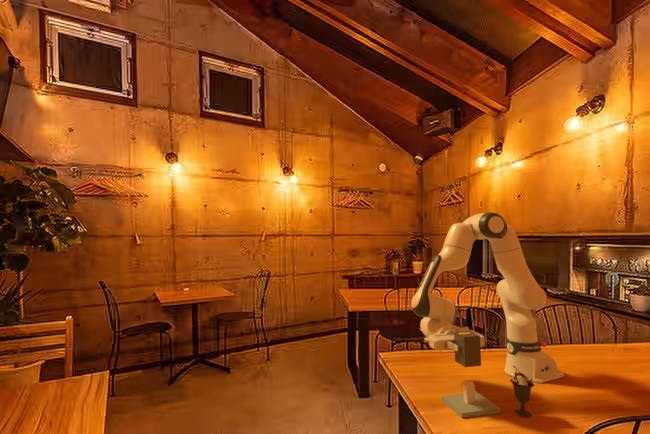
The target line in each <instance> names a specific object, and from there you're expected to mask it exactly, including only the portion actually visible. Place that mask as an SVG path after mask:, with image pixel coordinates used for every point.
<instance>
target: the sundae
mask: <svg viewBox="0 0 650 434" xmlns="http://www.w3.org/2000/svg"><path fill="white" fill-rule="evenodd" d="M513 367H514V368H515V369H517V368H516V367H515V366H513ZM517 370H518V369H517ZM517 370H516V372H515V373H514V374H515V375H514V376H512V378H511V379H510V380H509V382H511V383H512V387H513V392H514V395H515V396H514V397H515V399H516V400H517V401H518V402H519V403H520V408H518V409H515V410H514V413H515V415H517V416H519V417H522V418H526V419H527V418H531V417H532V416H533V414H532V412H530V411H528V410H526V403H529V402H530V399H531V390H532V388H534V387H535V385H534V383H533V381H531V380H532V378H531V380H528V378H527V376H526V375H524V374H522V373H521V372H518V373H517Z"/></svg>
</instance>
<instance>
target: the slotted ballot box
mask: <svg viewBox="0 0 650 434" xmlns="http://www.w3.org/2000/svg"><path fill="white" fill-rule="evenodd" d="M454 344H458V345H460V346H461V351H456V350H454V362H456V363H458V364H459V365H461V366H462V367H464V368H471V367H481V366H482V359H481V357H482V356H481V355H482V352H481V347H480V336H479V335H477V334H475V333H473V332H470V331H462V332H454Z"/></svg>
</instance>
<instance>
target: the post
mask: <svg viewBox="0 0 650 434" xmlns="http://www.w3.org/2000/svg"><path fill="white" fill-rule="evenodd" d="M462 385H463V386H462V388H463V393H454V394H447V395H444V394H443V395H441V401H443V403H445V404H446V405H447V406H448V407H449V408H450V409H451V410H452V411H453V412H454V413H455V414H457V415H458V416H459V418H461V419H463V418H471V417H472V418H473V417H479V416H486V415H487V416H488V415H493V414H500V413H501V408H500V407H498V406H497V405H496V404H494V402H492V401H491V400H489V399H488V398H486V397H485V396H483V395H482V394H481V393H480V392H478V391H476V388H475V386H476V385H475V384H474V382H473V381H472V380H464V382H463V383H462Z"/></svg>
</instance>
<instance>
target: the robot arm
mask: <svg viewBox="0 0 650 434" xmlns="http://www.w3.org/2000/svg"><path fill="white" fill-rule="evenodd" d="M444 239H445V240H444V242H443V246H442V249H441V250H440V252H439V253H438V254H437V255H434V256H433V257H432V258H431V260H430V262H429V263H428V266H427V268H426V270H425V271H424V274H423V277H422V279H421V281H420V283H419V286H418V287H417V290H416V291H415V292H414V294H413V296H412V298H411V301H410V307H411V310H412V311H413V313H414V315H416V316H418V317H422V319H421V320H420V325H419V326H420V327H419V328H420V330H421V332H422V334H423V335H424V336H425V337H424V338H423V339H424V341H425V342H426V343H428V345H429V347H430V348H432V349H433V350H435V351H442V350H452V351H453V350H454V351H455V350H456V351H461V346H460V345H458V344H454V332H462V331H470V332H473V333H475V334H477V335H479V336H480V348H482V347H485V344H486V343H485V336H484V335H483V334H481V333H479V332H478V331H475V330H472V329H469V327H468V326H463V325H455V322H456V320H457V317H458V310H457V306H456V304H455V302H454V301H453V300H452V299H449V298H446V297H443V296H439V295H435V294H434V293H433V294H432V290H433V288H434V287H435V283H436V282H437V278H438V276H439V275H440V274H442V273H443V272H448V271H455V270H460V269H462V268H464V267H465V266H466V265H467V264H468V263H469V260H470V257H471V254H472V253H471V252H472V248H473V244H474V243H475V241H476V240H487V241H488V242H489V243H490V245H491V250H492V254H493V258H494V260H495V261H494V262H495V264H496V268H497V270H498V272H499V273H500V274H501V276H502V277H503V278H504V279H502V280H500V281H498V283H497V284H496V289H495V290H496V294H497V295H498V297H499V299H500V302H501V305H502V309H503V313H504V316H505V324H506V337H505V344H506V345H505V346H506V347H505V348H506V359H505V360H506V361H505V366H504V369H503V371H504V372H505V374H506V375H509V376H510V377H513V376H514V375H515V374H514V373H515V372H516V370H517V369H518V370H517V373H518V372H521V373H522V374H524V375H526V376H527V378H528V380H529V381H530V380H531V378H532V380H531V382H535V383H539V384H540V383H541V384H543V383H547V382H550V381H553V380H558V379H561V378H562V379H563V378H565V373H564V372H563V371H561V370H560V369H558V364H557V362H556V360H555V359H554V357H552V356H550V354H548V353H547V352H545V351H544V350H543V349H542V347H543V348H546V347H547V345H548V344H547V342H545V341H540V340H538V332H537V331H538V330H537V321H536V319H535V318H534V316H533V314H532V312H531V310H533V311H536V310H537V311H538V310H541V309H542V308H544V306H545V305H546V303H547V300H548V299H547V293H546V291H545V290H544V289H543V288H542V287H541V286H540V285H539V283H538V282H537V280H536V279H535V277H534V276H533V274H532V271H530V270H531V269H530V268H529V267H528V264H527V262H526V258H525V255H524V252H523V250H522V249H523V248H522V246H521V242H520V240H519V237H518V235H517V233H516V231H515V229H514V228H513V226H511V225H510V224H508V223H506V221H505V219H504V217H503V216H502V215H500V213H499V214H498V213H496V212H491V211H490V212H489V211H488V212H483V213H482V212H480V213H476V214H474V215H469V216H467V217H465V218H463V220H462V221H461V222H457V223H453V224H452V225H451V226H450V228H449V229H448V231H447V235H446V237H445V238H444ZM513 366H515V367H516V368H517V369H515V368H514V367H513Z"/></svg>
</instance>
